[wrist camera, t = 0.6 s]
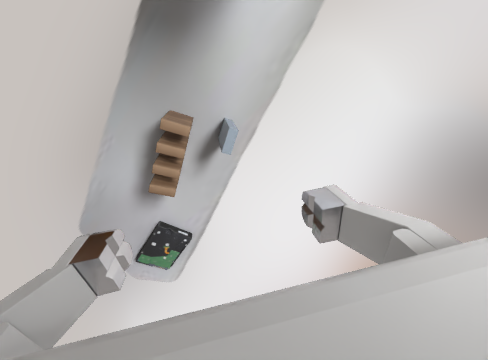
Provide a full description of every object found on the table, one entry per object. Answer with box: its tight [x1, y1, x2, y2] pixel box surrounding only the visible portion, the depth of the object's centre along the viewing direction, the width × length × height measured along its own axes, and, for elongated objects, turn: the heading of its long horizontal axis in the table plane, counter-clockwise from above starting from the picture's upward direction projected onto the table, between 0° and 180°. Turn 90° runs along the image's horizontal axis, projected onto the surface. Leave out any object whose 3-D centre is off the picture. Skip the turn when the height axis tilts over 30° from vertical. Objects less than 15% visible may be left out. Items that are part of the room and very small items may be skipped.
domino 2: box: [156, 131, 189, 159], centre depth 41 cm, size 2×5×10 cm, turn 70°
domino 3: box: [152, 153, 184, 179], centre depth 42 cm, size 2×5×10 cm, turn 70°
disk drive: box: [136, 221, 192, 270], centre depth 58 cm, size 10×3×15 cm
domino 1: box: [160, 110, 193, 137], centre depth 39 cm, size 2×5×10 cm, turn 70°
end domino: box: [218, 118, 239, 155], centre depth 42 cm, size 2×5×10 cm, turn 160°
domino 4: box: [149, 171, 181, 197], centre depth 44 cm, size 2×5×10 cm, turn 70°
